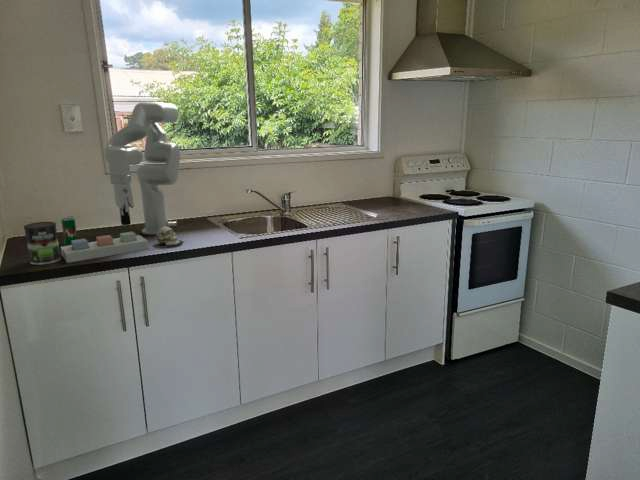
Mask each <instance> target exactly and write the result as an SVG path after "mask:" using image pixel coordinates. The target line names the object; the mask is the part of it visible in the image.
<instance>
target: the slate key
mask: <svg viewBox="0 0 640 480" xmlns="http://www.w3.org/2000/svg"><path fill="white" fill-rule="evenodd" d="M71 243H72V249H73V251H74V250H81V249H87V248H89V245H88V243H89V241H88V239H86V238H80V239H78V240H72V241H71Z"/></svg>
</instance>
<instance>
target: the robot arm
mask: <svg viewBox="0 0 640 480" xmlns="http://www.w3.org/2000/svg"><path fill="white" fill-rule="evenodd" d="M178 119H179V109H178V107H177V106H176V105H175V104H174V103H167V102H162V101H159V102H158V101H156V102H155V101H154V102H153V101H151V102H147V101H146V102H138V103H137V104H136V105H135V106H134V108H133V109H132V113H131V115H130V118H129V121H128V123H127V125H126V126H124V127H122V128H120V130H118V131H117V132H115V133H114V134H113V135H112V136H110V138H109V141H108V143H107V145H106V148H105V152H104V157H105V161H106V162H107V165H108V170H109V178H110V179H109V180H110V184H111V185H113V195H114V202H115V206H116V207H117V208H118V209H119V215H120V224H121V225H122V226H128V225H131V216H130V208H131V209H133V208H134V207H135V205H134V198H133V193H132V192H133V190H132V186H131V183H132V177H131V168H130V167H131V166H137V165H139V164H140V163H141V162H142V161H143V159H144V160H145V161H146V163H144V164H142V165H140V166H138V167H137V170H136V176H137V179H138V183H139V186H140V193H141V200H142V208H143V219H144V228H142V230H141V233H142V234H144V235H154V236H155V235H157V232H158V231H159V230H160V229H161V228H163V227H170V228H171V227H174V226H177V224H178V222H177V221H176V220H175V221H168V220H167V218H166V217H167V215H166V208H165V207H166V206H165V195H164V192H163V190H162V189H161V187H160V186H173V185H175V184H176V183H177V180H178V176H179V168H180V161H181V150H180V147H179V146H178V144H177V143H174V142H166V140H167V134H166V132H165V131H164V129H163V128H162V126H160V124H163V123H164V124H169V123H170V124H173V123H176V122H177V121H178ZM144 138H146V139H145V145H144V152H143V151H142V150H141V148H139V147H137V146H135V145H134V146H132V145H131V146H130V145H129V144H132V143H136V142H137V141H140V140H142V139H144ZM147 162H148V163H147Z"/></svg>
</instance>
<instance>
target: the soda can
mask: <svg viewBox="0 0 640 480" xmlns="http://www.w3.org/2000/svg"><path fill="white" fill-rule="evenodd" d="M60 221H61V222H60V223H61V228H62V233H63V240H64V241H63V242H64V246H69V245H72V243H71V241H72V240H78V232H77V225H76V219H75V217H74V216H73V215H66V216H62V217H61V220H60Z"/></svg>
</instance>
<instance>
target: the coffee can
mask: <svg viewBox="0 0 640 480" xmlns="http://www.w3.org/2000/svg"><path fill="white" fill-rule="evenodd" d="M23 229H24V233H25V238H26V246H27V250H28V256H29V263H30V264H31V265H35V266H36V265H38V266H39V265H40V266H41V265H50V264H54V263H57V262H59V261H61V260H62V256H61V249H60V245H59V239H58V238H59V237H58V232H57V223H56V222H54V221H39V222H32V223H28V224H26V225H25V224H24V225H23Z"/></svg>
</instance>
